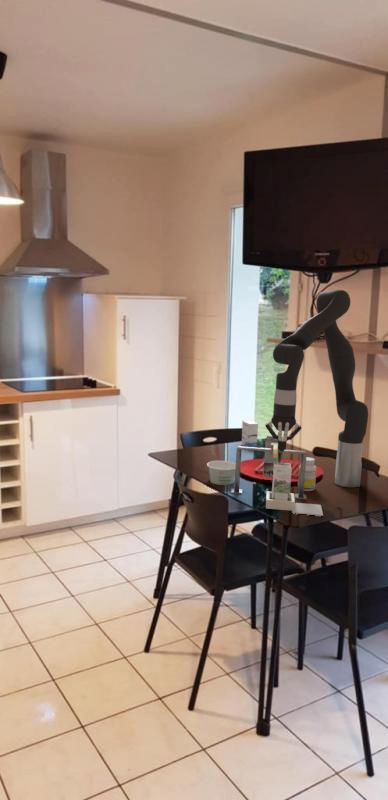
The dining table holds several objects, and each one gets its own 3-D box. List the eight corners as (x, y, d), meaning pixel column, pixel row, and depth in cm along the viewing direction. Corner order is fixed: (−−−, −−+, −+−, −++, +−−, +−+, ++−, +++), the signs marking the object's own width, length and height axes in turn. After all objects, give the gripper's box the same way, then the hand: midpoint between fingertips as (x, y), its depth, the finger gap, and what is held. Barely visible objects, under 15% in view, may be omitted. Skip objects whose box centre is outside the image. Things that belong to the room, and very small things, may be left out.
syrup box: (287, 502, 214) (290, 462, 211) (288, 508, 208) (291, 467, 205) (270, 501, 214) (273, 461, 212) (272, 507, 208) (274, 466, 206)
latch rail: (306, 496, 222) (309, 450, 219) (306, 499, 218) (310, 453, 215) (231, 490, 225) (234, 445, 222) (230, 493, 221) (233, 447, 218)
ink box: (257, 448, 289) (258, 423, 287) (247, 448, 287) (248, 424, 285) (250, 443, 297) (251, 419, 295) (240, 444, 295) (242, 420, 293)
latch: (279, 447, 219) (279, 443, 219) (279, 458, 205) (280, 453, 205) (271, 447, 220) (271, 442, 220) (270, 457, 205) (271, 453, 205)
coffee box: (279, 482, 237) (281, 441, 234) (262, 480, 238) (264, 440, 235) (280, 475, 245) (283, 436, 243) (264, 474, 247) (266, 435, 244)
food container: (213, 487, 227) (214, 470, 226) (201, 477, 238) (201, 461, 237) (242, 484, 232) (243, 468, 231) (229, 475, 243) (230, 459, 242)
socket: (293, 501, 215) (293, 493, 215) (294, 510, 206) (294, 502, 205) (266, 499, 216) (266, 491, 216) (265, 508, 207) (266, 499, 206)
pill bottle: (302, 484, 235) (305, 455, 233) (318, 488, 231) (320, 459, 229) (294, 488, 230) (296, 458, 228) (309, 492, 226) (312, 462, 224)
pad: (320, 506, 211) (320, 504, 211) (322, 516, 202) (323, 514, 201) (291, 504, 212) (291, 502, 212) (292, 514, 203) (292, 512, 203)
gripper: (303, 401, 214) (300, 449, 217) (265, 399, 215) (262, 447, 218) (305, 405, 206) (301, 455, 209) (265, 402, 208) (262, 452, 211)
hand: (281, 450), depth 214 cm, fingers closed
